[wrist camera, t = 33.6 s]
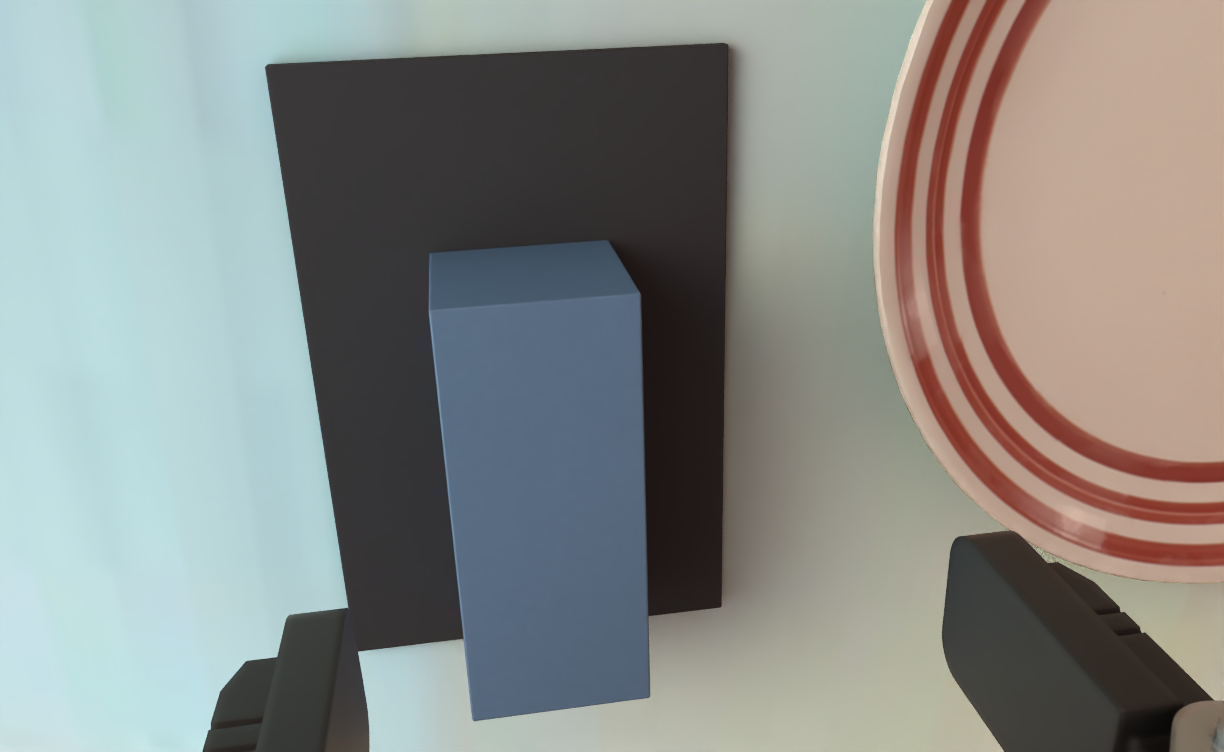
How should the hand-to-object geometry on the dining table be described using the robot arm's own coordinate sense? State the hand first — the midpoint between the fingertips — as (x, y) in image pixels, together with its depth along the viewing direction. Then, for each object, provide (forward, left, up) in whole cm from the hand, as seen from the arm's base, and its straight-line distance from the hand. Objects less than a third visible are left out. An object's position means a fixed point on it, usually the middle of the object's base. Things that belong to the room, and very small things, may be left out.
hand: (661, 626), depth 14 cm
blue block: (+1, +11, -14) cm, 18 cm away
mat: (+1, +3, -17) cm, 18 cm away
